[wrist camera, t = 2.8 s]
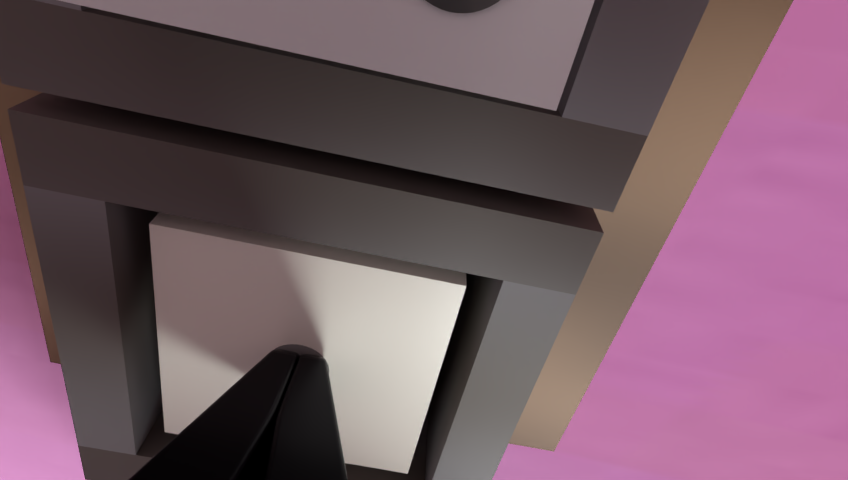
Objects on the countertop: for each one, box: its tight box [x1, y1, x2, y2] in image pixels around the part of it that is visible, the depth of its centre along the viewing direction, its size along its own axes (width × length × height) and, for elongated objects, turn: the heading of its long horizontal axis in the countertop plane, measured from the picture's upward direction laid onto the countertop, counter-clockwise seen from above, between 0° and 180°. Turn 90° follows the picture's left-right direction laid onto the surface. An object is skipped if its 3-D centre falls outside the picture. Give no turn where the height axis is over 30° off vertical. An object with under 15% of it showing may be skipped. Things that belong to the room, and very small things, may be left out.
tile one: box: [149, 212, 466, 474], centre depth 10 cm, size 4×4×2 cm
